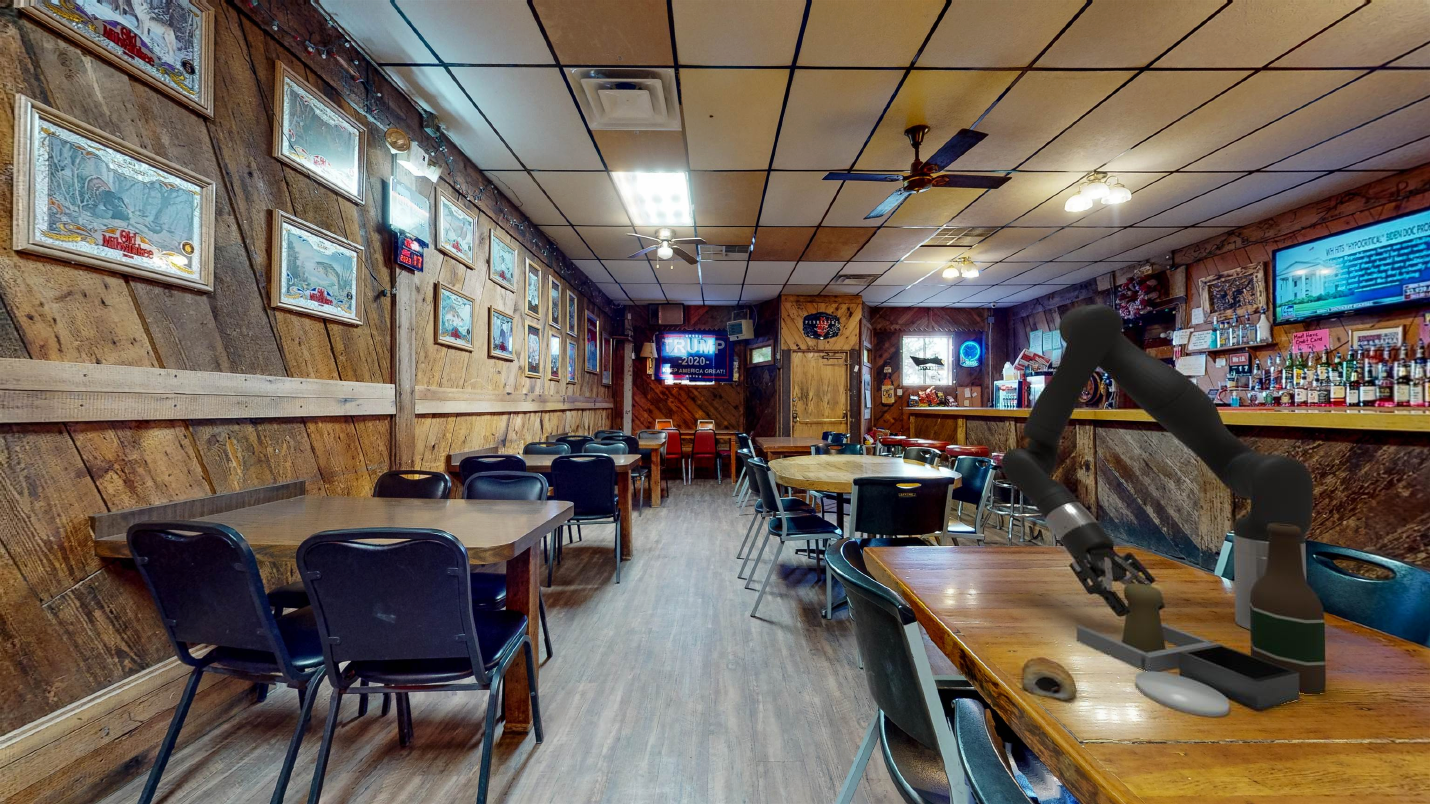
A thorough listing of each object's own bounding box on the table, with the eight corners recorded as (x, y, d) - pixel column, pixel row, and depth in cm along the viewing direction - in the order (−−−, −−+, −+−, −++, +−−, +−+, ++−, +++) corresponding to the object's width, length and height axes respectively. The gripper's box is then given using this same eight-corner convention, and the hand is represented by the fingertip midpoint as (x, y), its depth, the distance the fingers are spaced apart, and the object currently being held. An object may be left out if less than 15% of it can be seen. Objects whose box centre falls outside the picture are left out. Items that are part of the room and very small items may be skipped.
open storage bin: (1219, 669, 81) (1219, 644, 81) (1299, 700, 72) (1299, 672, 72) (1179, 677, 78) (1179, 651, 78) (1257, 711, 69) (1257, 682, 69)
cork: (1175, 659, 84) (1174, 592, 84) (1134, 655, 85) (1133, 590, 85) (1152, 642, 90) (1151, 581, 90) (1113, 639, 91) (1113, 578, 91)
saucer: (1165, 673, 79) (1165, 667, 79) (1247, 709, 70) (1247, 702, 70) (1118, 683, 76) (1118, 676, 76) (1198, 722, 67) (1197, 714, 67)
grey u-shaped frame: (1142, 629, 95) (1142, 616, 95) (1219, 659, 84) (1219, 644, 84) (1076, 640, 91) (1076, 626, 91) (1149, 673, 79) (1149, 657, 79)
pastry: (1022, 666, 82) (1022, 642, 82) (1072, 677, 79) (1072, 653, 79) (1022, 693, 74) (1022, 667, 74) (1078, 707, 71) (1078, 680, 71)
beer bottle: (1317, 702, 71) (1314, 533, 72) (1241, 676, 78) (1238, 522, 79) (1334, 688, 75) (1331, 527, 76) (1260, 665, 82) (1257, 517, 82)
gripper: (1063, 522, 94) (1129, 606, 83) (1118, 518, 98) (1189, 598, 87) (1038, 543, 99) (1097, 626, 88) (1092, 539, 103) (1155, 617, 92)
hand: (1142, 612), depth 88 cm, fingers open, 8 cm apart
